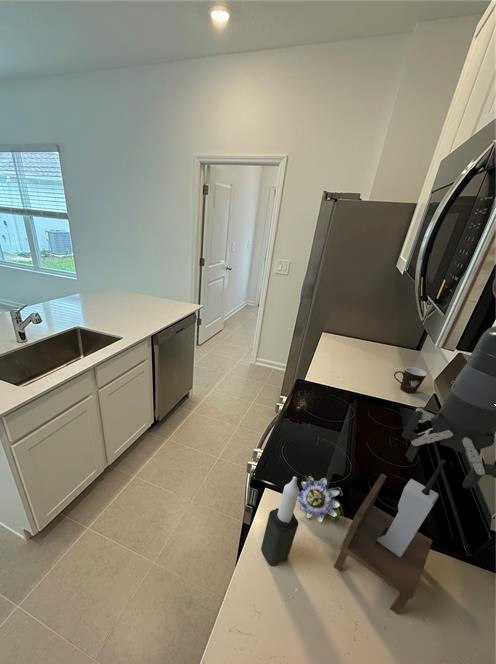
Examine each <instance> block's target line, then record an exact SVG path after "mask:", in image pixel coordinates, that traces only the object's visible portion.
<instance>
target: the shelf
mask: <svg viewBox="0 0 496 664" xmlns="http://www.w3.org/2000/svg"><path fill="white" fill-rule="evenodd" d="M387 477H388V476H387V475H386V474H385V473H380V475H379V477H378V478H377V480H376V481H375V482H374V485H373V486H372V488H371V489H370V491H369V492H368V494H367V495H366V497H365V499H364V500H363V502H362V503H361V505H360V507H359V508H358V510H357V511H356V513H355V514H354V517H353V518H352V521H351V523H350V524H349V525H350V526H349V528H348V530H347V532H346V535H345V537H344V538H343V541H342V543H341V546H340V548H339V550H340V551H339V554H338V556H337V558H336V560H335V562H334V565H333V567H334V568H335V569H337V570H338V571H339V572H340V571H341V570H342V568H343V567H344V565H345V563H346V560H347V559H348V557H350V558H351V559H352V560H354V561H355V562H357V563H358V564H359V565H361V566H363V567H364V568H365V569H367V570H368V571H369V572H371V573H372V574H374V575H375V576H377V577H378V578H379V579H381V580H382V581H384V582H385V583H386V584H388V585H389V586H391V587H392V588H393V589H395V590H396V591H398V592H399V593H398V594H397V595H396V597H395V598H394V600H393V601H392V603H391V605H390V606H389V607H390V608H389V610H390V611H392V612H394V614H396V615H399V614H400V612H401V611H402V610H403V608H404V607H405V606H406V605H407V603H408V601H409V600H410V601H411V600H413V598H414V597H415V596H416V591H417V589H418V587H419V583H420V580H421V576H422V575H423V571H424V568H425V565H426V563H427V559H428V556H429V553H430V549H431V547H432V544H433V539H431V538H429V537H428V536H426V535H424V534H422V533H421V532H419V531H417V532H416V534H415V535H414V537H413V539H412V540H411V542H410V543H409V545H408V547H407V548H406V550H405V551H404V553H403V555H402V556H401V557H399V556H397V555H396V554H394V553H393V552H392V551H390V550H389V549H387V548H386V547H385V546H383V545H382V544H380V543H379V542H378V541H377V539H378V537H379V535H380V534H381V533H382V531H383V530H384V528H386V527H389V526H391V524H392V522H393V521H394V519H395V517H394V516H392V515H390V514H389V513H387V512H385V511H384V510H382V509H381V508H378V507H377V506H375V505H374V504H375V502H376V500H377V499H378V496H379V494H380V492H381V490H382V487H383V485H384V483H385V481H386V479H387Z"/></svg>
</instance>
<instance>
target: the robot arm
mask: <svg viewBox="0 0 496 664" xmlns="http://www.w3.org/2000/svg"><path fill="white" fill-rule="evenodd" d="M492 293H493V296H494V297H495V298H496V276H495V277H494V280H493V282H492ZM494 404H496V326H491V327H489V328H487V329H486V330H485V331H484V332H483V333H482V334H481V336H480V337H479V339H478V341H477V343H476V345H475V347H474V349H473V350H472V352H471V354H470V356H469V358H468V360H467V362H466V363H465V365H464V366H463V368H462V369H461V370H460V372H459V373H458V375H457V376H456V378H455V380H454V381H453V383H452V385H451V389H450V390H449V392H448V393H447V396H446V398H445V399H444V402H443V403H442V405H441V407H440V409H439V411H437V413H435V414H434V413H431V412H430V411H426V409H425V407H423V406H418V407H416V409H415V411H414V412H413V414H412V416H411V417H410V419H409V421H408V422H407V424H406V425H405V428H404V429H403V430H402V431H403V432H402V433H401V437H402V438H403V439H407V440H408V441H409V442H410V445H409V446H408V449H407V450H406V452H405V458H407V462H410V463H412V462H413V460H414V459H415V457H416V455H417V453H418V451H419V449H420V447H421V446H422V445H425V444H431V443H435V442H439V443H440V446H443V447H448V448H451V449H452V450H454V451H456V452H458V453H460V454H462V453H465V454H467V457H468V459H469V462H470V463H471V464H472V467H471V469H470V470H469V472H468V473H467V475H466V476H465V478H464V480H463V482H462V485H461V487H462V488H464V489H465V490H468V489H469V488H475V487H476V486H477V484H478V483H479V481H480V480H481V479H482V478H483V476H490V477H493V478H494V479H496V460H495V461H494V463H493V464H491V463H487V462H486V459H485V456H484V451H483V449H485V448H489V447H491V446H493V447H494V448H495V449H496V437H495V435H496V406H495V405H494ZM427 421H429V422H430V425H431V428H428V429H427V430H425V431H422V432H419V433H417V432H415V428H416V426H417V425H418V424H419V423H420V424H424V423H425V422H427Z"/></svg>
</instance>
